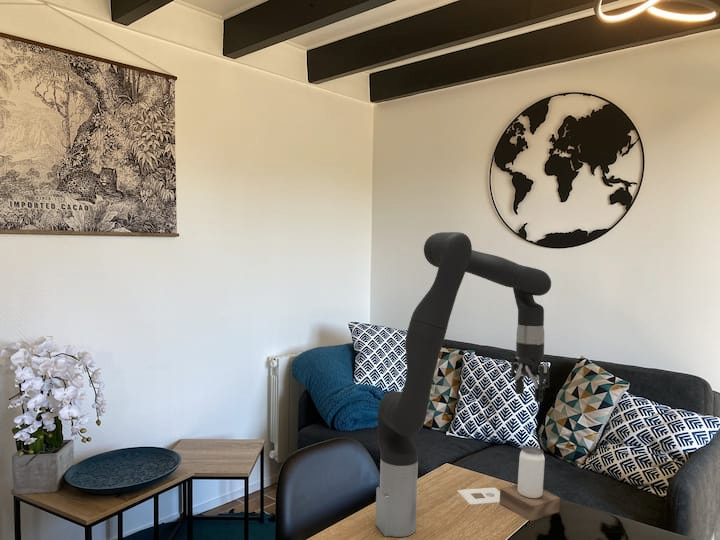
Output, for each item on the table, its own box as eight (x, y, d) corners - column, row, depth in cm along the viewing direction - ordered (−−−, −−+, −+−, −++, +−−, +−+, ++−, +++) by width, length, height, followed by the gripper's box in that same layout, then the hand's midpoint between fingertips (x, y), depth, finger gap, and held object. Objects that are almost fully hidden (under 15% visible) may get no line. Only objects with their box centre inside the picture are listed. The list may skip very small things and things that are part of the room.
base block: (530, 521, 140) (531, 506, 140) (499, 503, 149) (500, 488, 149) (559, 512, 145) (560, 497, 145) (527, 495, 155) (528, 481, 155)
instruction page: (470, 505, 148) (470, 504, 148) (456, 490, 157) (456, 490, 157) (510, 501, 151) (510, 500, 151) (495, 488, 159) (495, 487, 159)
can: (544, 500, 143) (547, 456, 143) (518, 497, 144) (521, 453, 144) (540, 489, 150) (543, 447, 149) (516, 486, 151) (518, 444, 150)
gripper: (504, 337, 159) (502, 392, 159) (535, 345, 145) (533, 405, 146) (525, 336, 161) (524, 390, 162) (558, 344, 148) (556, 403, 148)
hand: (528, 397), depth 154 cm, fingers open, 8 cm apart
